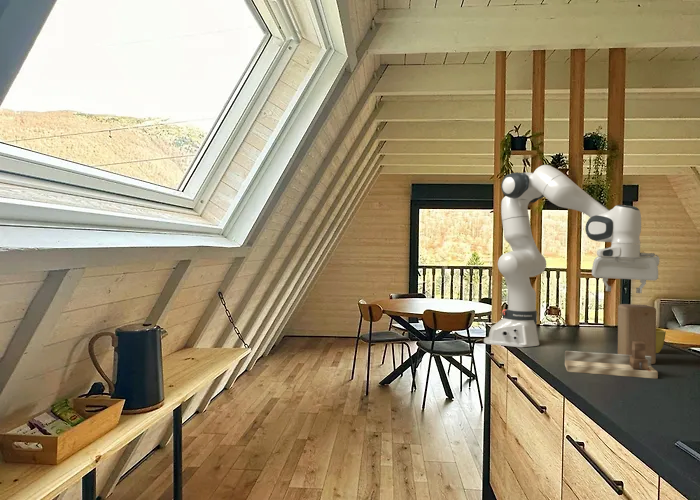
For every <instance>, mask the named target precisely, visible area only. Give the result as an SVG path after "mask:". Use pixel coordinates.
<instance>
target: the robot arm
mask: <svg viewBox="0 0 700 500" xmlns="http://www.w3.org/2000/svg"><path fill="white" fill-rule="evenodd" d="M501 192H502V193H503V194H504V197H503V198H502V199H501V204H500V205H501V206H500V208H501V209H500V213H501V215H500V216H501V223H502V229H503V235H504V236H503V237H504V240H505V241H506V242H507V243H508V244H509V246H510V248H511V251H508V252H505V253H502V254H501V256H500V257H498V261H497V269H498V271H499V273H500V274H501V275H502V276H503V278H504V280H505V284H506V288H507V303H508V305H507V307H508V308H507V309H506V308H505V309H503V310H502V311H501V313H502V317H503V318H502V319H500V320H498V321H497V322H496V323H495V324H493V325H492V326H491V327H490V329H489V333H488V336H486V337H484V338H483V343H484V344H486V345H494V346H502V347H503V346H506V347H515V348H527V347H536V346H537V347H538V346H539V345H540V341H539V336H538V331H537V330H538V329H537V323H538V312H537V308H536V307H537V292H536V290H535V289H534V288H533V286H532V284H531V279H530V278H533V277H537V276H538V275H541V274H542V273H543V272H545V269H546V268H547V261H546V257H544V255H543V254H542V253H541V252H540V250H539V247H538V246H537V244H536V242H535V239H534V236H533V234H532V227H531V222H530V216H529V211H528V209H529V208H528V206H529V204H530V203H531V204H534V203H536V202H537V201H539V200H540V199H542V198H546V200H548V201H549V202H550V203H552V204H554V205H555V206H557V207H560V208H564V209H569V210H573V211H578V212H581V213H583V214H584V215H586V216H588V220H587V221H586V223H585V234H586V236H587V238H589V239H590V240H592V241H594V242H598V243H599V242H600V243H601V242H603V243H610V244H611V245H610V246H608V247H605V248H602V249H597V250H596V255H597V256H596V257H595V258H594V261H593V263H592V268H591V276H592V277H594V278H596V279H597V278H598V279H602V283H603V284H604V286H605V292H612V286H611V285H609V284H608V281H609V279H618V280H634V281H635V280H637V281H638V280H639V283H640V285H639V287H635V293H636V294H642V291H643V288H644V287H645V285H647V281H657V280H658V279H659V268H658V266H659V265H660V256H659V255H658V254H655V253H654V252H653V253H652V252H651V253H649V252H641V241H640V235H641V232H642V215H641V210H640V209H639V208H638V207H637V206H632V205H627V204H626V205H625V204H617V205H615V206H614V207H613V208H611V209H609V208H607V206H605V205H603V204H602V203H601V202H600V201H598V200H597V199H596V198H594V197H592V196H591V195H590V194H589V193H588V192H586V191H585V190H583V189H582V188H581V187H580V186H579V185H577V183H575V182H574V181H573V180H572V179H571V178H569V177H568V176H567V175H565V174H564V173H563V172H562V171H560V170H559V169H557V168H555V167H554V166H552V165H550V164H543V165H540V166H538V167H537V168H536V169H535V170H534V171H533V172H519V171H518V172H511V173H508V174H506V175H505V176H504V177H503V179H502V181H501Z"/></svg>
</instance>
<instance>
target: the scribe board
mask: <svg viewBox="0 0 700 500" xmlns="http://www.w3.org/2000/svg"><path fill="white" fill-rule="evenodd" d="M630 356H632V355H624V354H618V353H609V352H608V353H606V352H594V351H593V352H590V351H576V350H574V351H573V350H565V351H564V366H565V369H566V371H567V372H568V373H580V374H581V373H582V374H594V375H605V376H606V375H607V376H619V377H620V376H621V377H631V378H633V377H634V378H643V379H644V378H645V379H655V380H656V379H658V377H659V376H658V375H659V372H658V370H656V369H655V368H654V367H653V366H652V364H651V356H645V358H646V359H647V360H648V370H643V369H633V368H632V367H631V366H630Z"/></svg>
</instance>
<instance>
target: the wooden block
mask: <svg viewBox="0 0 700 500" xmlns="http://www.w3.org/2000/svg"><path fill="white" fill-rule="evenodd" d="M656 328H657V309H656V307H653V306H651V305H647V304H631V303H629V304H628V303H620V304H618V306H617V354H624V355H632V341H640V342H644V343H645V356H651V365H654V364H656V361H657V360H656V358H657V357H656V355H657V353H656Z"/></svg>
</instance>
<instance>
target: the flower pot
mask: <svg viewBox="0 0 700 500" xmlns="http://www.w3.org/2000/svg"><path fill="white" fill-rule="evenodd" d="M665 339H666V331H665V330H664V329H662V328H658V327H656V354H659V353H660V352H661V351H662V349H663V348H664V345H665Z"/></svg>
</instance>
